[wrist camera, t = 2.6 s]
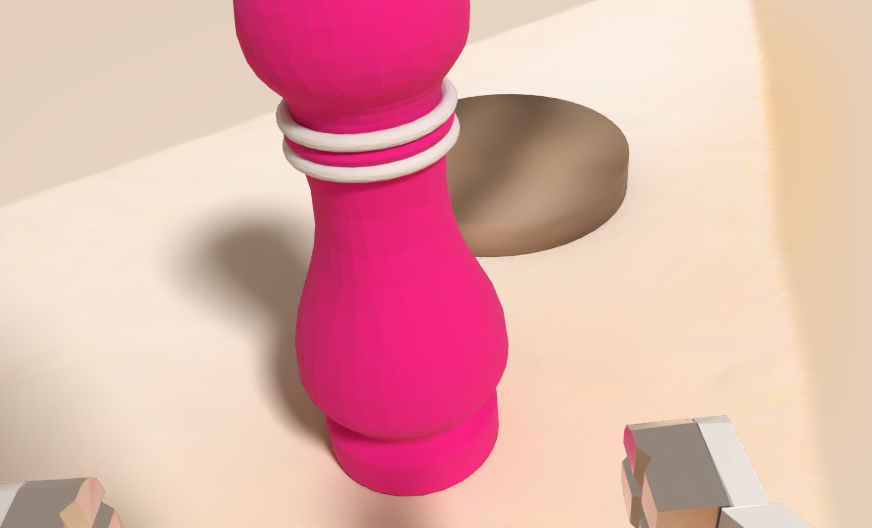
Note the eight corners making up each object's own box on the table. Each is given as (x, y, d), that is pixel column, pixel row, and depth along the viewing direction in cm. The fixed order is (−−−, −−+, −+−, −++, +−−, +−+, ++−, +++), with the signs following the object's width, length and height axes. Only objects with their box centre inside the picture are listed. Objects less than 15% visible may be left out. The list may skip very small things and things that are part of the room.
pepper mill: (374, 548, 26) (225, -122, 14) (289, 413, 31) (128, -159, 19) (551, 447, 28) (553, -185, 17) (446, 338, 34) (390, -202, 22)
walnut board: (328, 236, 41) (321, 203, 39) (422, 116, 51) (419, 87, 50) (601, 274, 36) (603, 238, 35) (644, 134, 47) (646, 102, 45)
